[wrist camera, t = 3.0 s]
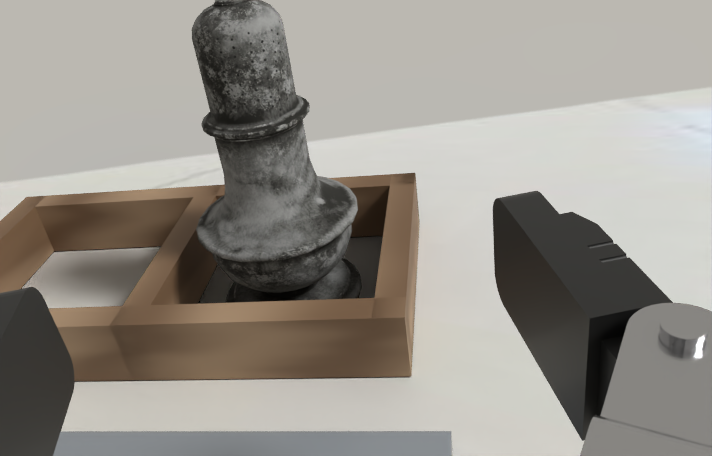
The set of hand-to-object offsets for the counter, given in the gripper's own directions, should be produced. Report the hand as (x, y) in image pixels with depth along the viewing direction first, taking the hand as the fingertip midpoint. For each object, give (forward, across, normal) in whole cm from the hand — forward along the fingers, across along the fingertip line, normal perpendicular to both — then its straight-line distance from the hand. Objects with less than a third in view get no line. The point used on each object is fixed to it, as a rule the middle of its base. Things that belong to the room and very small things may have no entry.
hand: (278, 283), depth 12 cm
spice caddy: (+13, +4, +8) cm, 16 cm away
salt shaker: (+12, 0, +8) cm, 14 cm away
